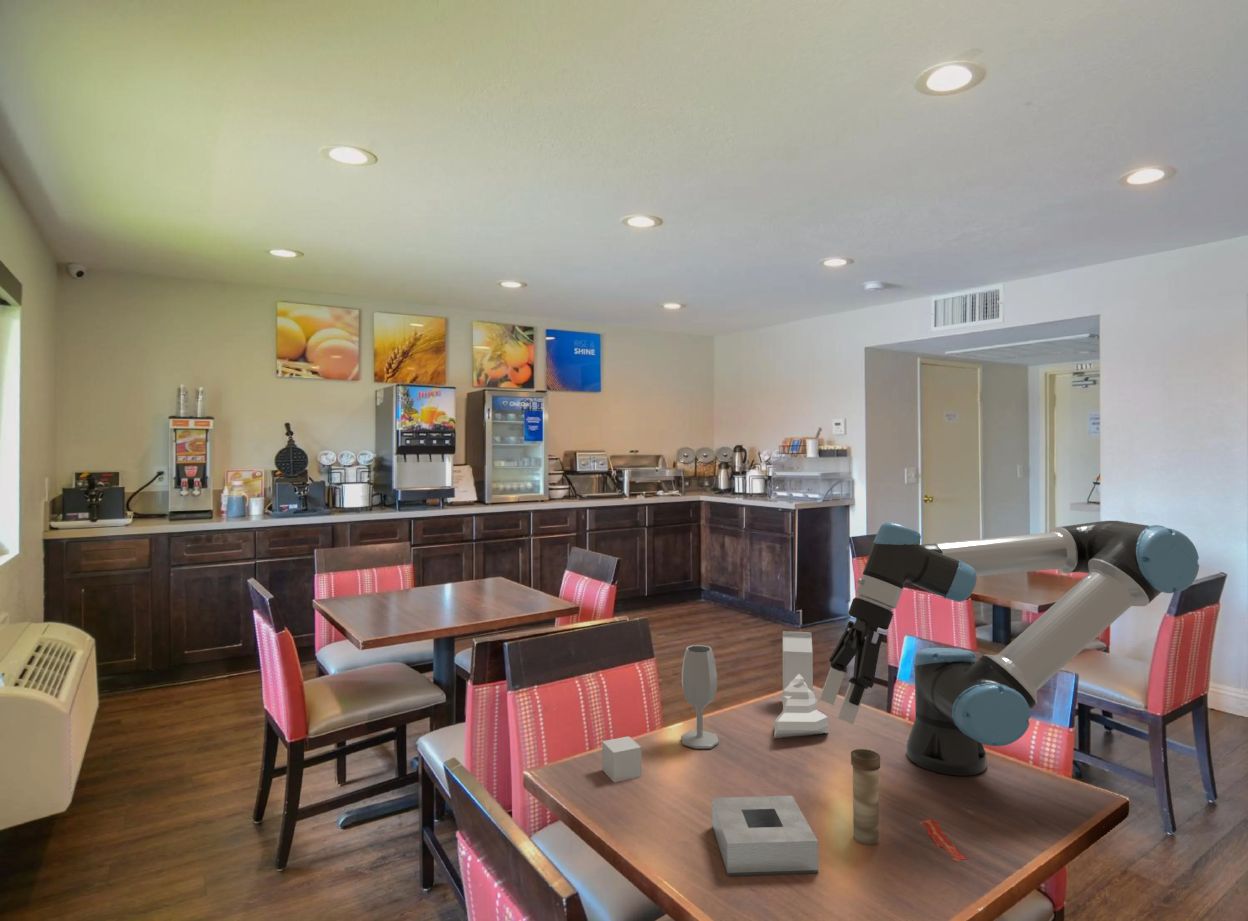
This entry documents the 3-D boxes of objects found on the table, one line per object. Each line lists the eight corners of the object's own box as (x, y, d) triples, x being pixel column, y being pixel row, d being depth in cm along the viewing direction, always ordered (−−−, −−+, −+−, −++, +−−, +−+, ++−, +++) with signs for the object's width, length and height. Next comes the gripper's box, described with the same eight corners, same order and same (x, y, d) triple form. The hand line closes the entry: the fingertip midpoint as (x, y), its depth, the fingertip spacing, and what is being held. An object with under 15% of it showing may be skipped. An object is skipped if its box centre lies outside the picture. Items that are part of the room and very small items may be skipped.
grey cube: (602, 770, 141) (602, 741, 141) (629, 764, 143) (628, 736, 143) (614, 782, 135) (613, 752, 135) (641, 776, 138) (641, 746, 138)
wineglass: (676, 747, 151) (675, 652, 151) (685, 732, 160) (684, 641, 159) (715, 752, 148) (714, 655, 148) (722, 736, 157) (722, 644, 157)
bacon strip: (949, 863, 108) (949, 859, 108) (907, 813, 123) (907, 810, 123) (973, 862, 108) (973, 858, 108) (928, 813, 123) (928, 809, 123)
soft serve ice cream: (756, 734, 162) (755, 671, 165) (815, 734, 164) (813, 672, 168) (778, 742, 150) (776, 674, 153) (841, 742, 152) (838, 675, 156)
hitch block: (792, 824, 119) (792, 795, 119) (818, 873, 105) (817, 840, 105) (712, 826, 119) (712, 797, 119) (727, 876, 105) (727, 843, 105)
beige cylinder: (874, 830, 117) (873, 748, 117) (885, 845, 113) (884, 760, 113) (847, 831, 117) (846, 749, 117) (857, 846, 112) (857, 761, 112)
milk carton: (813, 712, 171) (812, 636, 171) (783, 710, 172) (783, 635, 172) (811, 702, 178) (810, 629, 178) (782, 700, 179) (782, 628, 179)
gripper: (837, 590, 142) (802, 687, 140) (876, 602, 117) (833, 721, 116) (872, 603, 141) (837, 702, 140) (918, 619, 117) (875, 738, 115)
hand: (835, 711), depth 128 cm, fingers open, 13 cm apart
